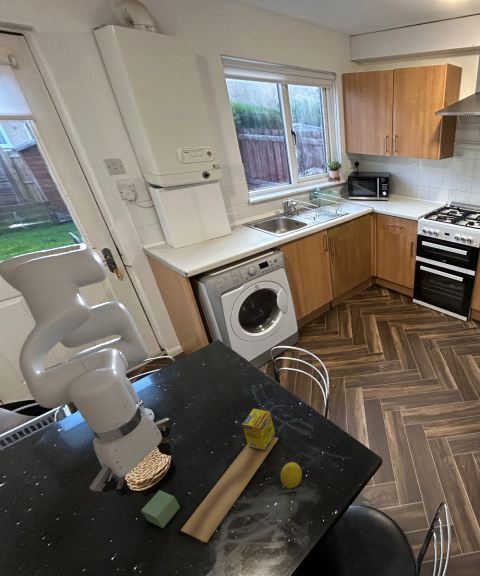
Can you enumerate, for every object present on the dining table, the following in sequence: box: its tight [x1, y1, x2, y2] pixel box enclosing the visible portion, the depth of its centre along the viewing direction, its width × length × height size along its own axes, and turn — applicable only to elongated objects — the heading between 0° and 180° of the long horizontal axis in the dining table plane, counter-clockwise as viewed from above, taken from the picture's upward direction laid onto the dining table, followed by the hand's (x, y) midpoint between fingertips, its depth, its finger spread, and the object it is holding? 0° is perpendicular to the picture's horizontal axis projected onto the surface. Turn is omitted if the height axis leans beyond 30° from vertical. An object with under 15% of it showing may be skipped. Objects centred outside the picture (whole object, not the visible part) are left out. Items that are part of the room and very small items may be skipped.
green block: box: [140, 489, 181, 529], centre depth 78 cm, size 5×5×5 cm
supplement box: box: [241, 408, 276, 451], centre depth 94 cm, size 6×6×11 cm
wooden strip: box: [180, 436, 280, 544], centre depth 87 cm, size 8×29×1 cm, turn 162°
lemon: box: [280, 461, 303, 489], centre depth 84 cm, size 6×6×8 cm
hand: (147, 472), depth 72 cm, fingers open, 9 cm apart
